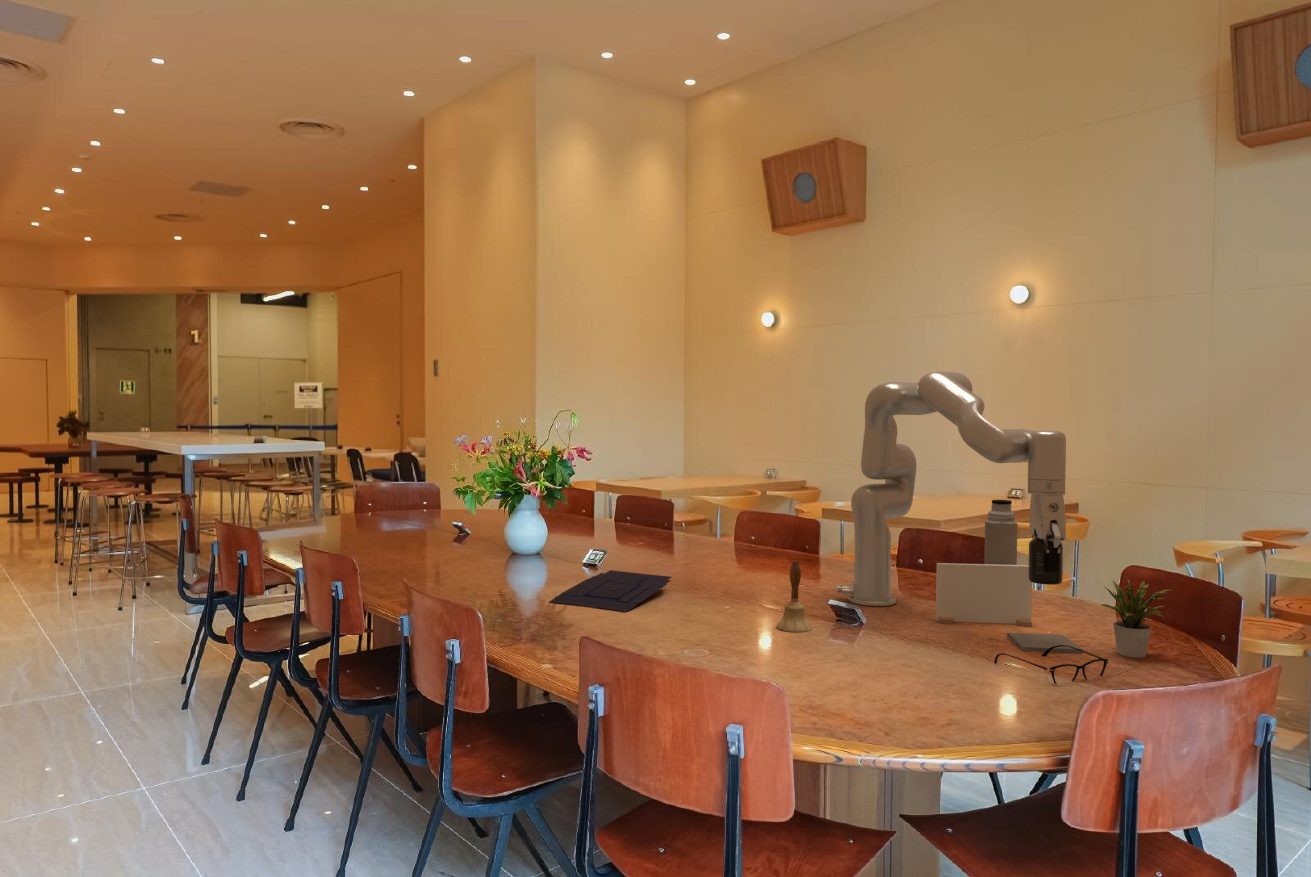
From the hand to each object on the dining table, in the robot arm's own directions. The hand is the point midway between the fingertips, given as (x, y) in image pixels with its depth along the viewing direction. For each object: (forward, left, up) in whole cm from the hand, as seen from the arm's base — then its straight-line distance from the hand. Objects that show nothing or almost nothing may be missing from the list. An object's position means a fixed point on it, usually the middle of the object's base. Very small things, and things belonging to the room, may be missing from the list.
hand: (1045, 567), depth 186 cm
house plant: (+16, -7, -17) cm, 25 cm away
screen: (-8, +19, -17) cm, 27 cm away
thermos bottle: (+1, +38, -17) cm, 42 cm away
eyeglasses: (-5, -19, -18) cm, 26 cm away
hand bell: (-54, +7, -17) cm, 57 cm away
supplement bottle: (0, 0, -3) cm, 3 cm away
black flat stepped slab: (-102, +35, -17) cm, 109 cm away
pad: (0, 0, -17) cm, 17 cm away
